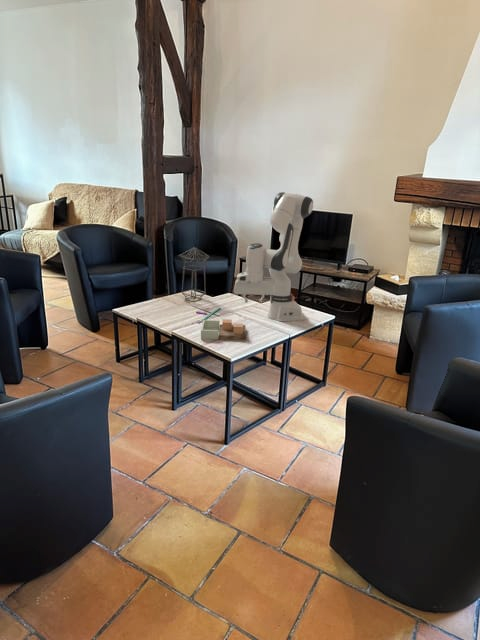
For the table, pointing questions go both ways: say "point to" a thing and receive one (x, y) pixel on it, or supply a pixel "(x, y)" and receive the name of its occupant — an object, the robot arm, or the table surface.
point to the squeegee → (206, 314)
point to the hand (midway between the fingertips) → (253, 302)
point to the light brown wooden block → (227, 324)
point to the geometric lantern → (193, 270)
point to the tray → (210, 329)
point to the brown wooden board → (231, 334)
